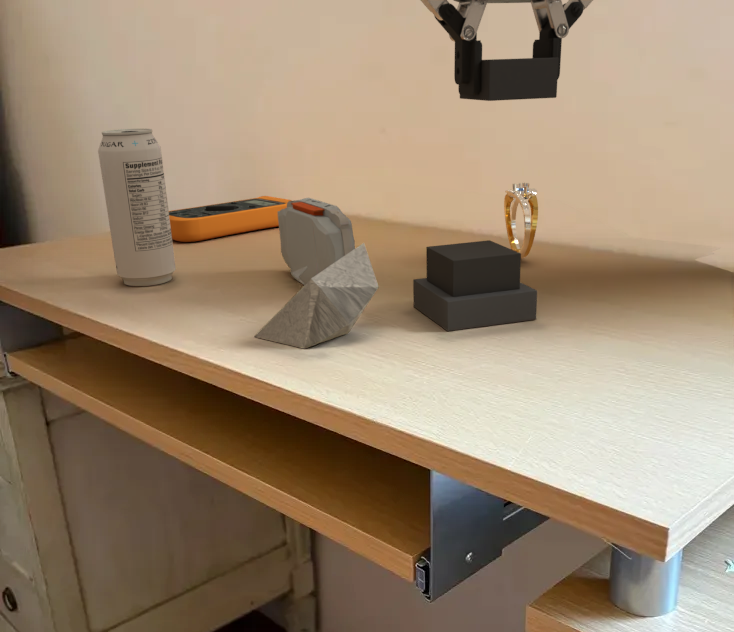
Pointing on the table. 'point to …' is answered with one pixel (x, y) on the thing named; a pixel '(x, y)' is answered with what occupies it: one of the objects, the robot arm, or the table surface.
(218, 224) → the multimeter
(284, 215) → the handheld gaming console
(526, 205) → the ring
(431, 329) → the table surface
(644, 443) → the table surface
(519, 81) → the graphite pad
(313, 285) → the grey angular faceted piece
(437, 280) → the black square block
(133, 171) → the energy drink can
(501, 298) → the base pad
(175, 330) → the table surface
